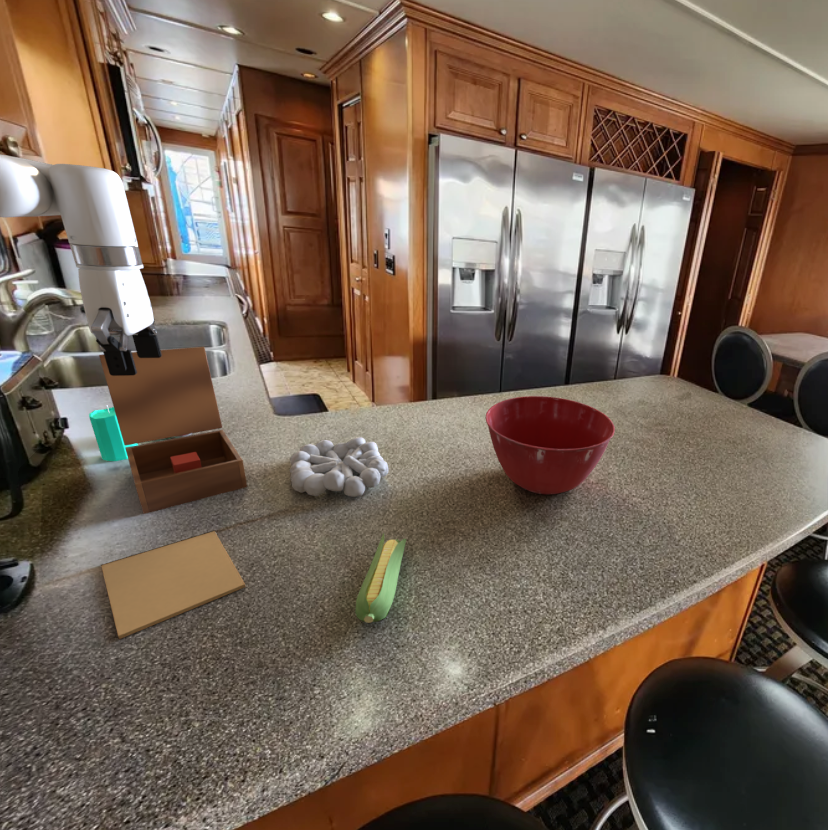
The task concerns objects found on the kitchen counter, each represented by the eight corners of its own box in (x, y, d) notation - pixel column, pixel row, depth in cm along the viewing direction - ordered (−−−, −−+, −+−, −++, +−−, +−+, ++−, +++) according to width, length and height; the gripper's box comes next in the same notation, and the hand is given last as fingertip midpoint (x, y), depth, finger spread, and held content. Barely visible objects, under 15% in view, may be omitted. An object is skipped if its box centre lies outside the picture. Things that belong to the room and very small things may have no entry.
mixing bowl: (629, 485, 108) (640, 425, 102) (544, 533, 88) (552, 462, 82) (544, 441, 125) (549, 388, 119) (457, 473, 105) (458, 411, 99)
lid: (204, 346, 94) (203, 346, 94) (98, 355, 83) (98, 354, 84) (222, 427, 98) (221, 427, 99) (124, 445, 88) (124, 444, 88)
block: (204, 481, 90) (199, 459, 89) (179, 488, 88) (173, 465, 86) (200, 473, 93) (195, 451, 91) (175, 479, 90) (170, 456, 88)
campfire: (258, 480, 94) (254, 455, 92) (345, 445, 112) (343, 423, 109) (331, 517, 85) (328, 491, 83) (413, 473, 103) (412, 449, 101)
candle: (145, 457, 98) (131, 405, 93) (108, 467, 93) (92, 413, 89) (134, 448, 101) (120, 397, 96) (97, 457, 96) (81, 404, 91)
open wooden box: (248, 490, 91) (242, 459, 88) (144, 517, 80) (134, 484, 78) (228, 457, 101) (222, 429, 99) (134, 477, 91) (125, 447, 88)
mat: (99, 559, 70) (98, 555, 70) (209, 524, 80) (209, 521, 80) (119, 639, 58) (117, 636, 58) (245, 587, 68) (245, 583, 68)
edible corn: (349, 634, 63) (347, 608, 61) (382, 540, 81) (380, 519, 79) (389, 632, 63) (387, 607, 62) (412, 540, 82) (411, 519, 80)
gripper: (105, 251, 75) (133, 351, 82) (39, 261, 61) (79, 383, 67) (161, 254, 78) (184, 351, 84) (111, 265, 63) (143, 382, 70)
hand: (137, 365), depth 76 cm, fingers open, 9 cm apart
